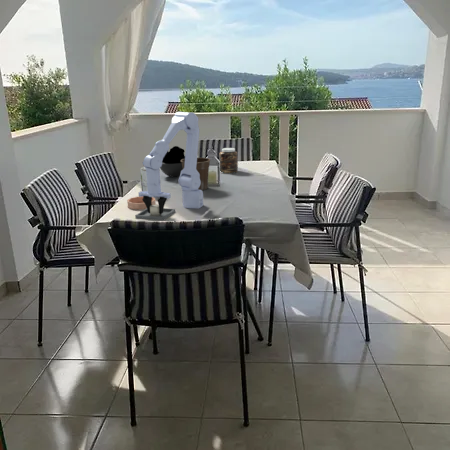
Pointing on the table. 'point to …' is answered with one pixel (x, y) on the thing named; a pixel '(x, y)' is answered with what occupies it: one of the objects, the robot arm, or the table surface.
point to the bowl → (138, 203)
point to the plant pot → (201, 171)
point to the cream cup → (154, 210)
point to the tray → (163, 216)
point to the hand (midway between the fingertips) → (155, 212)
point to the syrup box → (143, 179)
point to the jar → (228, 160)
